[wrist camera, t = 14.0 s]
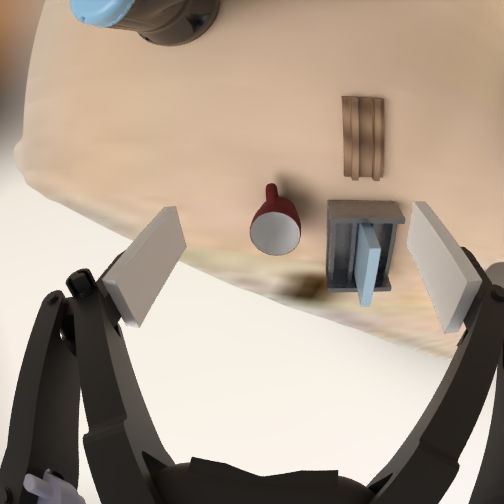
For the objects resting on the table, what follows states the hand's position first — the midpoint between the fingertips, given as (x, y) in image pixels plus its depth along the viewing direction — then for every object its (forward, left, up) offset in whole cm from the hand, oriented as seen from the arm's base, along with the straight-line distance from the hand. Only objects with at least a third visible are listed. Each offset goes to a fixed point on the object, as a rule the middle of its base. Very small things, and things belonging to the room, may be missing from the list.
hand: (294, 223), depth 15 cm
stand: (+2, +11, -35) cm, 36 cm away
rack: (+22, +11, -35) cm, 43 cm away
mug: (+14, -5, -35) cm, 38 cm away
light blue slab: (+22, +11, -34) cm, 42 cm away
